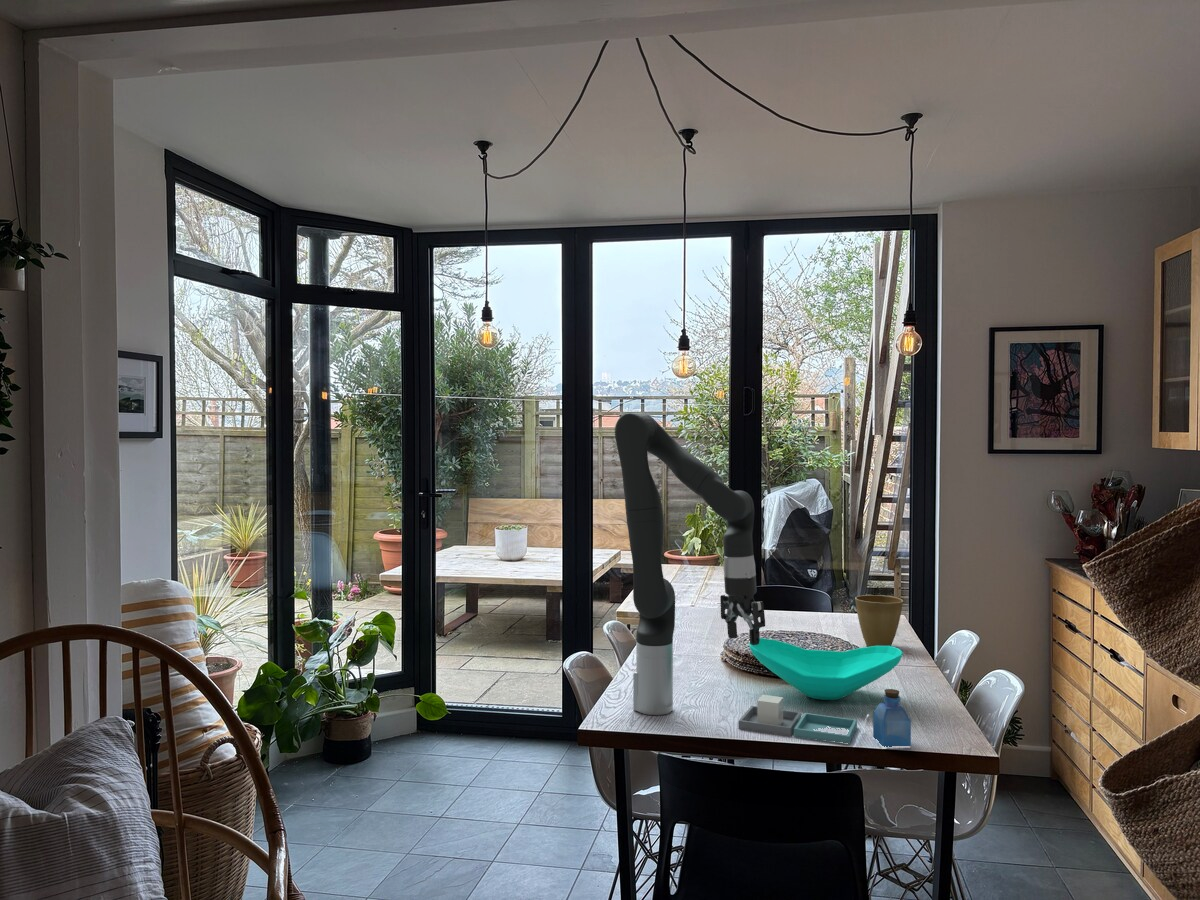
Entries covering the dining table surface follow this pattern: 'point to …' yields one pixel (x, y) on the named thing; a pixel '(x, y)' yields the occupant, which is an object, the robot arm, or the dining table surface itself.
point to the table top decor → (826, 667)
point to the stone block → (770, 710)
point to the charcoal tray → (786, 728)
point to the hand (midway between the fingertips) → (743, 641)
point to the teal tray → (821, 721)
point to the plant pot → (878, 618)
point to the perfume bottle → (891, 721)
